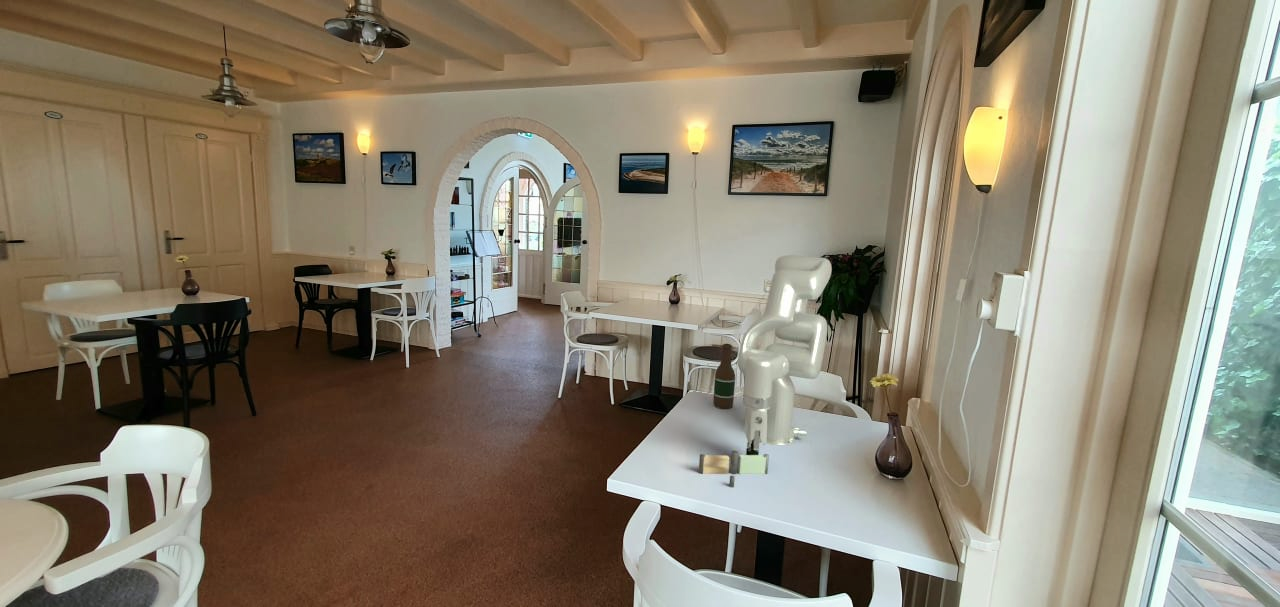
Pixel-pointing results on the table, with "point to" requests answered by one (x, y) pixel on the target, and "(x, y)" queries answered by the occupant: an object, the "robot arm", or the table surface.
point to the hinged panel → (753, 464)
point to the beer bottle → (724, 381)
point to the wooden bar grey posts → (719, 465)
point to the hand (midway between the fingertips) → (751, 462)
